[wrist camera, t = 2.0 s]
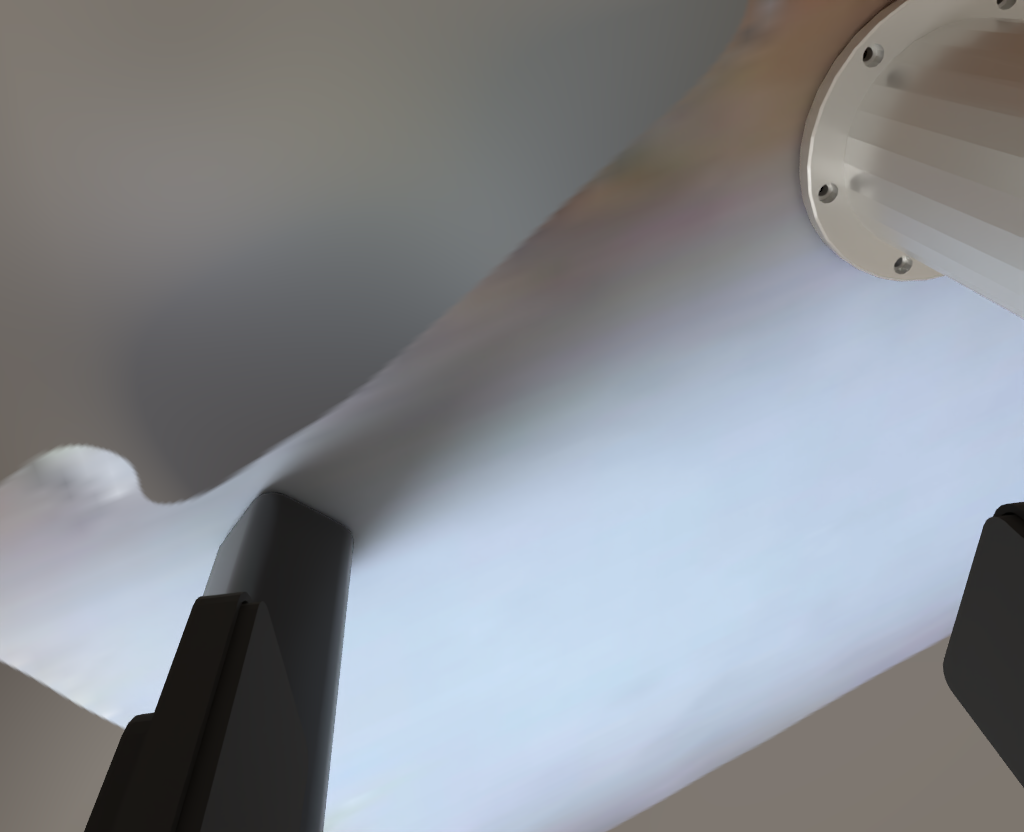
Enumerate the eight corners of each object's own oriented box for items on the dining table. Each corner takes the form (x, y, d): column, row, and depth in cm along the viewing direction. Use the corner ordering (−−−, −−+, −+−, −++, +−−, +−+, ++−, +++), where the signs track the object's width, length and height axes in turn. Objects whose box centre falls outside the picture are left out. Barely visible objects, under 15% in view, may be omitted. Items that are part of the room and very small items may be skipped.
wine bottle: (362, 530, 41) (276, 1464, 15) (305, 599, 43) (143, 1537, 17) (265, 480, 39) (-25, 1467, 13) (210, 555, 41) (-140, 1550, 15)
